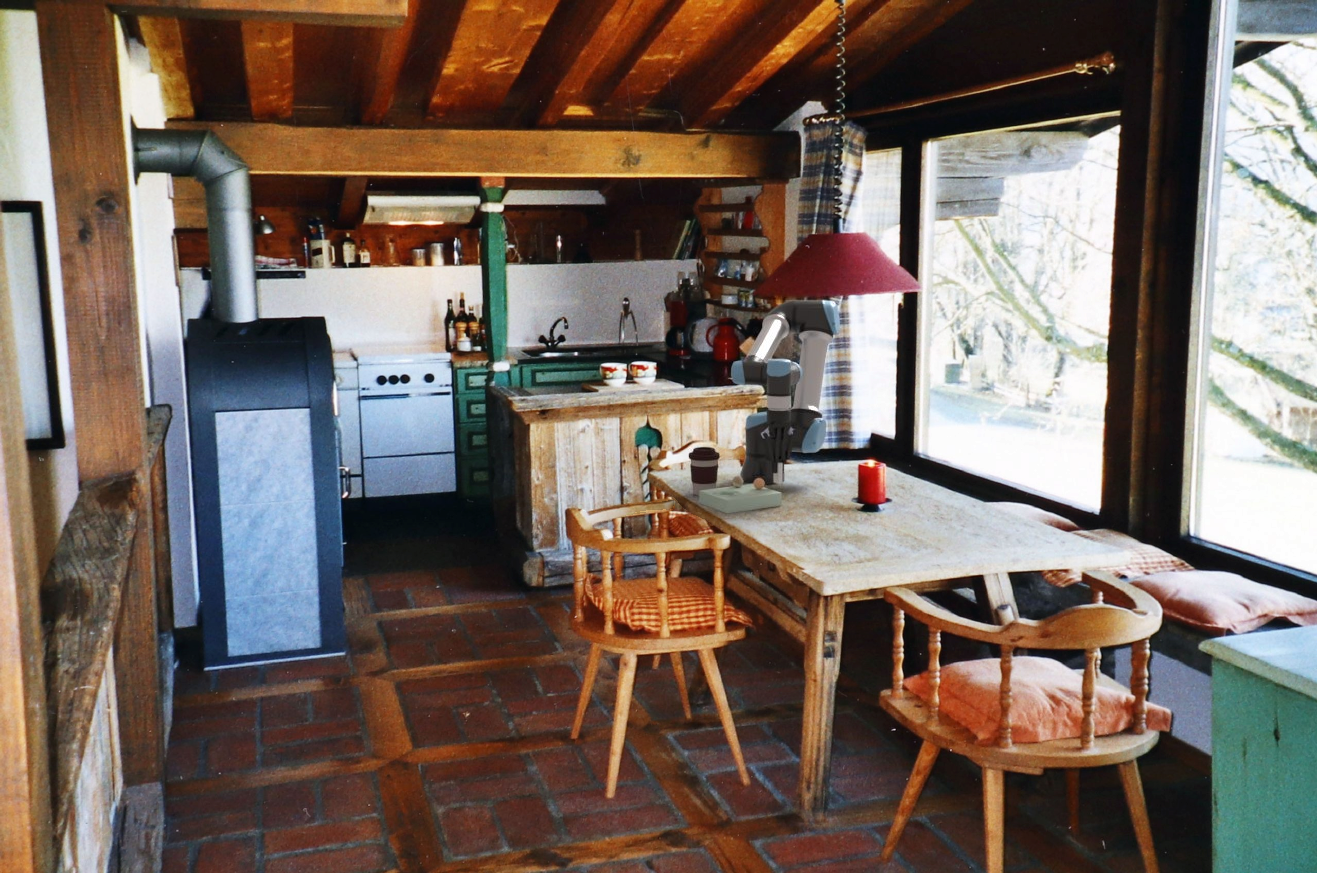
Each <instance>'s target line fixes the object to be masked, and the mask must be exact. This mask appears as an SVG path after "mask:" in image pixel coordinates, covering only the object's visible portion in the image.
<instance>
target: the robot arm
mask: <svg viewBox="0 0 1317 873" xmlns="http://www.w3.org/2000/svg"><path fill="white" fill-rule="evenodd" d="M839 311H840V310H839V308H838V305H837V304H836V302H835V301H833V300H824V299H822V300H821V299H819V300H814V299H813V300H810V299H809V300H808V299H807V300H806V299H805V300H802V299H801V300H800V299H791V300H788V301H785V302H782V303H780V304H779V305H777V306H775V307H774V308H773V309H772V310H770V311H769V312H768V313H767V314H766V315H765V318H764V319H763V321H762V328H761V330H760V332H759V333H758V335H757V337H756V338H755V340H754V342H753V344H752V346H751V348H750V349H749V351H748V353H747V354H746V356H745V358H744V359H743V360H737V361H733V363H732V365H731V370H730V371H731V372H730V376H731V380H732V382H733V384H737V385H744V386H747V385H749V386H750V385H751V386H766V408H768V409H767V410H766V411H762V412H755V413H751V414H749V415H747V417H746V419H745V428H744V429H745V458H744V460H743V464H742V468H741V470H740V475H739V476H740V477H741V478H742V479H743V483H744V482H745V483H747V484H754V481H755V479H757V478H761V479H763V480H764V482H765V485H768V484H770V485H771V484H778V485H780V484H783V482H784V481H785V480H786V479H785V477H786V475H785V474H786V473H785V464H786V463H787V461H789V460H790V459H791V456H792V452H795V453H796V452H797V453H803V454H807V453H817V452H819V451H820V450H821V448H822V446H823V444H824V443H825V438H826V434H827V421H826V419H824V418H823V413H822V412H821V410H820V409H819V408H820V402H821V396H822V395H821V393H822V388H823V379H824V374H825V365H826V358H827V350H828V345H829V344H830V343H832V342H833V341H834V340H833V339H834V336H837V335H839V334H840V329H841V322H840V321H841V320H840V312H839ZM789 334H795V335H798V338H799V340H800V341H801V349H800V357H799V364H798V363H797V362H794V361H791V360H790V359H787V358H773V357H774V356H773V355H774V354H775V352H776V350H777V349H778V347H779V345H780V343H781V342H782V340H783V339H784V338H786V337H787V336H788V335H789ZM795 385H796V386H795ZM792 386H795V391H794V392H795V393H794V399H793V406H792Z"/></svg>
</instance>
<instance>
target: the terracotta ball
mask: <svg viewBox="0 0 1317 873" xmlns="http://www.w3.org/2000/svg"><path fill="white" fill-rule="evenodd" d="M753 484H754V487H755V488H756V489H762V488H763V487H765V485H766V484H765V482H764V480H763V479H761V478H757V479H755V481H754V483H753Z"/></svg>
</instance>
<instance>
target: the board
mask: <svg viewBox="0 0 1317 873" xmlns="http://www.w3.org/2000/svg"><path fill="white" fill-rule="evenodd" d="M698 498H699V500H698V503H699V504H701V505H704V506H706V507H709V508H711V509H714V510H716V511H720V512H722V513H725V514H732V512H734V513H739V512H740V511H741V512H746V511H752V510H753V511H754V510H761V509H766V508H767V509H768V508H774V507H775V508H776V507H781V506H782V504H783V492H780V491H777V490H775V489H771V488H768V487H765V486H764V487H763V488H762V489H756V488H755V487H754V483H747V484H743V485H742V486H741V487H735V486H734V485H733V486H732V485H730V486H725V487H716V488H715V489H708V490H700V491H699V496H698Z"/></svg>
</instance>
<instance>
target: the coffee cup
mask: <svg viewBox="0 0 1317 873" xmlns="http://www.w3.org/2000/svg"><path fill="white" fill-rule="evenodd" d="M688 459H689V460H690V478H691V484H692V485H691V486H692V494H693V495H694V496H696V497H699V491H700V490H708V489H715V488H717V482H718V471H719V470H718V469H719V464H718V460H720V452H717V451H716V449H715V448H714V447H712V446H698V447H694V448H693V450H692V451H691V452H689V453H688Z"/></svg>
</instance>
